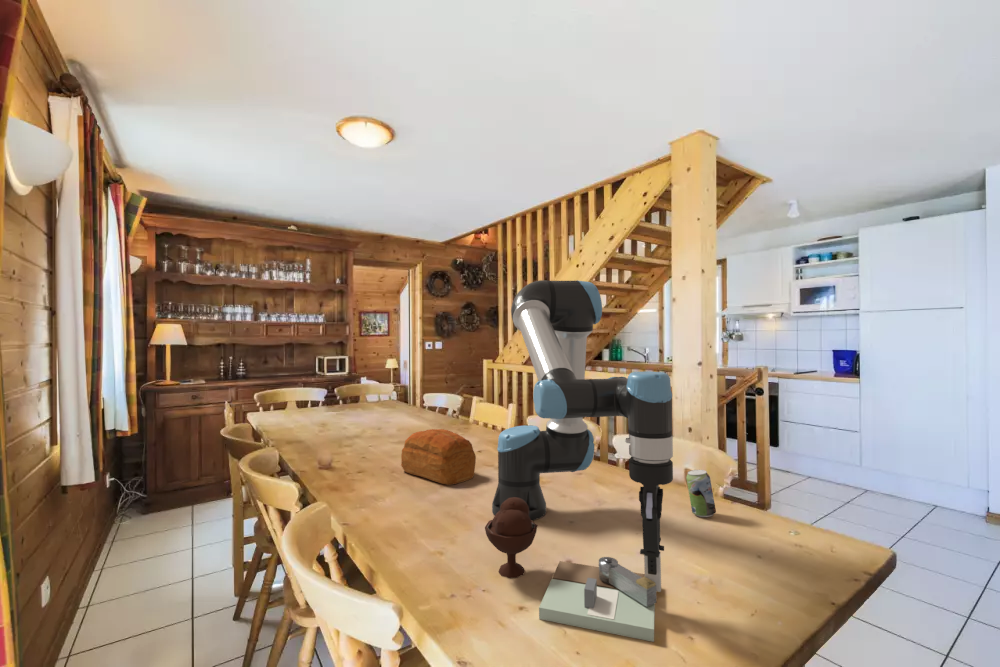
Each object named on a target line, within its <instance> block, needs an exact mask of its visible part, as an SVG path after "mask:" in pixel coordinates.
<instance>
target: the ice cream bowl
mask: <svg viewBox="0 0 1000 667" xmlns="http://www.w3.org/2000/svg"><path fill="white" fill-rule="evenodd" d="M537 530H538V524H537V523H536V522H535V521H534V520H531V519H530V517H529V506H528V505H527V503H526V502H525V501H524V500H523V499H521V498H517V497H512V498H508V499H507V500H505V501H504V502H503V503H502V505H501V506H500V511H499V512H498V513H496V515H493V518H492V519H491V520H488V521H487V523H486V525H485V526H484V531H485V534H486V538H487V539H488V541H489V542H490V543H491V544H492V546H493V547H494V548H495V549H497V550H498V551H499V552H501V553H504V554H506V555H507V557H506V558H507V561H506V562H505V563H503V564H501V565H500V567H499V569H498V574H499V575H500V576H501V577H504V578H507V579H518V578H519V577H520V578H521V577H522V576H524V574H525V571H526V570H525V567H523V566H522V564H520V563H518V562H516V561H517V559H516V555H517V554H519V553H522V552H524V551H526V550H527V549H528V548H529V547H530V546H532V544H533V542H534V540H535V537H536V534H537Z"/></svg>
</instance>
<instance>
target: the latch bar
mask: <svg viewBox="0 0 1000 667" xmlns="http://www.w3.org/2000/svg"><path fill="white" fill-rule="evenodd" d="M598 567H599V579H600V580H601V581H603V582H607V583H610V584H611V585H613V586H615V587H616V588H618V589H619V590H621V591H623V592H624V593H626V594H627V595H629V596H630V597H632V598H634V599H635V600H637V601H638V602H640V603H642V604H643V605H645V606H646V607H648V606H650V605H653V604H655V605H656V604H657V591H656V585H655V582H653V581H652V580H650V579H648V578H646V577H640V576H639V575H637V574H635V573H636V572H634V573H633V571H632V570H629V569H628V568H626V567H625V566H623V565H622V564H619V561H618V560H617V559H616V558H614V557H612V556H611V557H610V556H602V557H600V558H599V559H598Z"/></svg>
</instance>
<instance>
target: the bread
mask: <svg viewBox="0 0 1000 667" xmlns="http://www.w3.org/2000/svg"><path fill="white" fill-rule="evenodd" d="M476 457H477V455H476V454H475V451H474V447H473V444H472V442H471V441H470V440H469V439H466V438H465V437H463V436H462V435H460V434H458V433H457V432H453V431H451V430H449V429H445V428H443V429H442V428H439V429H437V428H434V429H433V428H432V429H430V428H429V429H426V430H423V431H422V430H420V431H416V432H414V433H412V434H411V435H409V436H408V437H407V438H406V439H405V440H404V446H403V448H402V450H401V458H400V461H401V462H400V464H401V465H400V466H401V468H402V469H403V472H405V473H407V474H410V475H414V476H417V477H421V478H424V479H425V480H429V481H432V482H435V483H438V484H441V485H447V486H451V485H456V484H459V483H460V484H461V483H463V482H467V481H469V480H472V479H473V478H474V476H475V471H476V463H477V462H476V460H477V459H476Z"/></svg>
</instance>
